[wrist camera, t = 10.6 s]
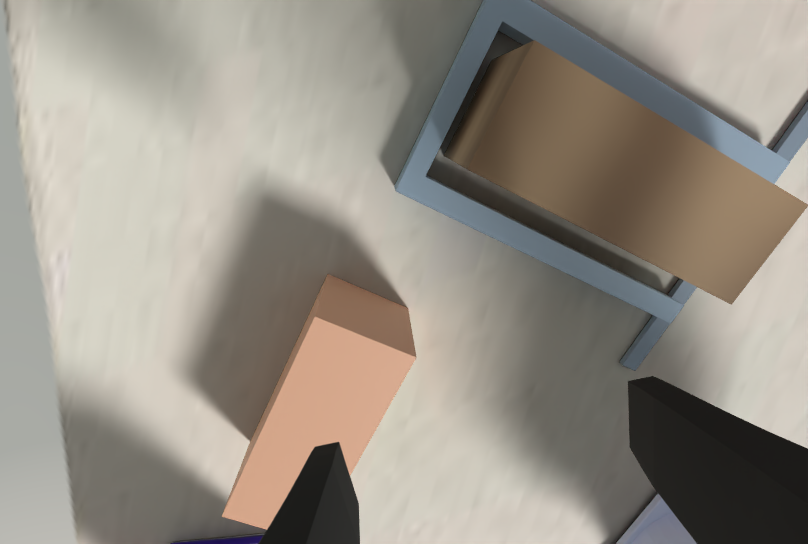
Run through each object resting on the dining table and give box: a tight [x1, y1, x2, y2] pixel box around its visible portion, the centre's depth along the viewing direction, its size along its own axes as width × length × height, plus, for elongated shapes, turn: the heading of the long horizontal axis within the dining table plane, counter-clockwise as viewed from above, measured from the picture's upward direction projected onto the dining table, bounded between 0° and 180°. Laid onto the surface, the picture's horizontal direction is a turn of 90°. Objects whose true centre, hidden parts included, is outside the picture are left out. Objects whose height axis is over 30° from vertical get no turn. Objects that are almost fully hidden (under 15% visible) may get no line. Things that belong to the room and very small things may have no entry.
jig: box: [394, 0, 808, 371], centre depth 18 cm, size 15×14×1 cm
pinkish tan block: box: [222, 274, 416, 530], centre depth 19 cm, size 4×10×5 cm, turn 154°
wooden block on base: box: [444, 40, 808, 305], centre depth 16 cm, size 11×4×5 cm, turn 64°
